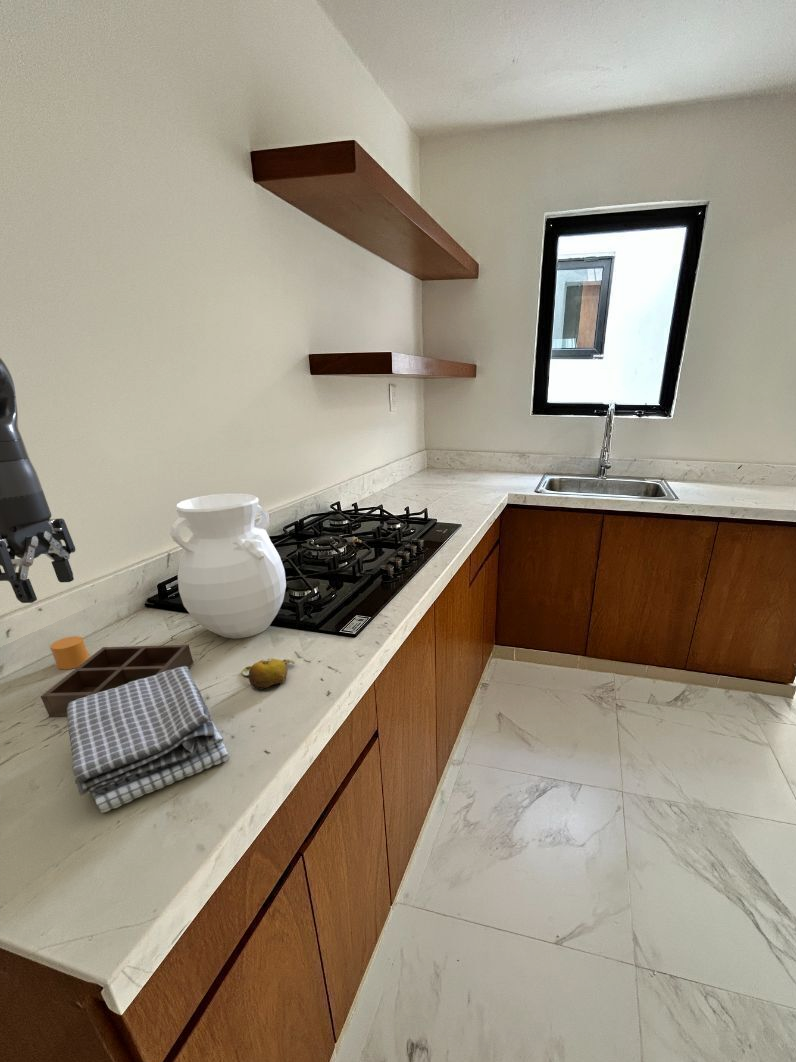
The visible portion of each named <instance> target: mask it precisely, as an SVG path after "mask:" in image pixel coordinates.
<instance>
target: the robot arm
mask: <svg viewBox="0 0 796 1062" xmlns="http://www.w3.org/2000/svg"><path fill="white" fill-rule="evenodd" d="M18 415H19V413H18V405H17V395H16V387H15V383H14V380H13V377H12V374H11V372H10V370H9V368H8V366H7V364H6V362H4V360H3V359H2V358H1V357H0V567H2V569H3V571H4V572H2V569H1V568H0V582H8V583H10V586H11V588H12V590H13V593H14V595H15V598H16V600H17V601H19V602H20V603H22V604H32V603H35V602H37V601H38V597H37V595H36V592H35V589H34V587H33V585H32V581H31V579H30V578H28V575H29V569H30V567H31V566H33V564H34V560H35V559H37V558H39V557H40V556H41V555H45V556H46V557H47V558H49V559H50V560H51V564H52V568H53V571H54V573H55V576H56V579H57V582H59V583H71V582H73V581H74V580H75V577H74V572H73V570H72V569H73V568H72V566H71V563H70V561H69V560H70V557H71V554H72V553H75V552H76V546H75V544H74V541H73V538H72V536H71V534H70V530H69V528H68V526H67V523H66V521H65V519H64V518H52V512H51V509H50V507H49V504H48V500H47V499H46V495H45V492H44V489H43V486H42V483H41V481H40V477H39V475H38V473H37V471H36V469H35V467H34V465H33V463H32V461H31V458H30V457H29V453H28V450H27V448H26V447H27V446H26V445H25V442H24V439H23V436H22V434H21V432H20V429H19V416H18ZM62 541H63V543H64V544H65V545H63V543H62ZM16 557H17V558H16ZM17 568H18V572H17V571H16V570H17Z"/></svg>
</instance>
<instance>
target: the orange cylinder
mask: <svg viewBox="0 0 796 1062" xmlns="http://www.w3.org/2000/svg"><path fill="white" fill-rule="evenodd" d="M49 649H50V651H51V653H52V655H53V658H54V661H55V664H56V667H57V668H58V669H59V670H64V671H67V670H72V669H76V668H77V667H79V666H80V665H81V664H82V663H84V662H85V661H86V660H87V659H89V658H90V657H91V656H90V655H89V652H88V649H87V646H86V644H85V640H84V638H83V637H82V636H77V635H74V636H73V635H72V636H67V637H64V638H61V639H58V640H56V641H54V642H52V643H51V644H50V645H49Z"/></svg>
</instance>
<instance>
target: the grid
mask: <svg viewBox="0 0 796 1062" xmlns="http://www.w3.org/2000/svg"><path fill="white" fill-rule="evenodd" d="M89 657H90V658H89V659H87V660H86V661H85V662H84V663H82V664H81V665H80V666H79V667H77V668H74V670H72V671H71V672H69V673H68V674H66V676H64V677H63V678H62V679H61V680H60V681H58V682H57V683H56V684H54V685H53V686H52V687H50V688H49V689H48V690H47V691H45V692H44V693H43V694H41V696H40V699H41V701H42V703H43V705H44V708H45V711H46V713H47V715H48V717H49V718H62V717H63V718H64V717H67V707H68V704H69V703H70V702H71V701H75V700H77V699H79V698H83V697H87V696H88V695H92V694H97V693H98V692H102V691H107V690H109V689H113V688H117V687H119V686H122V685H125V684H127V683H129V682H132V681H136V680H138V679H142V678H147V677H150V676H155V675H156V674H158V673H161V672H165V671H166V670H173V669H174V668H178V667H183V666H187V667H188V669H189V670H190V667H192V666H193V664H194V660H193V656H192V652H191V648H190V645H189V644H168V645H166V644H164V645H163V644H162V645H161V644H159V645H132V646H130V645H128V646H102V647H101V648H100V649H99V650H97V651H96V652H94V654H92V655H91V656H89Z"/></svg>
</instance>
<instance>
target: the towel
mask: <svg viewBox="0 0 796 1062" xmlns="http://www.w3.org/2000/svg"><path fill="white" fill-rule="evenodd" d="M192 677H193V676H192V675H191V672H190V668H189V669H188V667H187V666H183V667H178V668H174V669H173V670H166V671H165V672H161V673H158V674H156V675H155V676H150V677H147V678H142V679H138V680H136V681H132V682H129V683H127V684H125V685H122V686H119V687H117V688H113V689H109V690H107V691H102V692H98V693H97V694H92V695H88V696H87V697H83V698H79V699H77V700H75V701H71V702H70V703H69V704H68V707H67V716H66V717H67V728H68V736H69V741H70V742H69V743H70V748H71V749H70V750H71V765H72V773H73V776H74V779H75V780H74V782H75V783H74V784H76V785H77V791H78V794H79V796H84V795H87V794H91V795H92V797H93V799H94V801H95V805H96V806H97V808H99V812H100V814H104V813H106V812H109V811H111V810H112V809H117V808H119V807H121V806H122V805H124V804H125V805H126V804H128V803H130V802H132V801H134V800H135V799H138V798H140V797H142V796H144V795H147V794H150V793H152V792H155V791H157V790H161V789H163V788H164V787H166V786H169V785H173V784H174V783H175V782H177V781H181V780H183V779H185V778H186V777H192V776H193V775H195V774H199V773H202V772H203V770H206V769H207V770H208V769H210V768H211V767H212V766H217V765H220V764H221V763H224V762H227V761H228V760H229V759H230V753H229V752H228V751H227V747H226V745H225V743H224V738H223V736H222V735H221V733H220V732H219V730H218V729H217V727H216V725H215V723H214V721H213V719H212V718H211V714H210V711H209V708H208V706H207V704H206V702H205V699H204V697H203V696H202V693H201V691H200V690H199V688H198V686H197V685H196V682H195V680H194V679H193V678H192Z"/></svg>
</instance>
